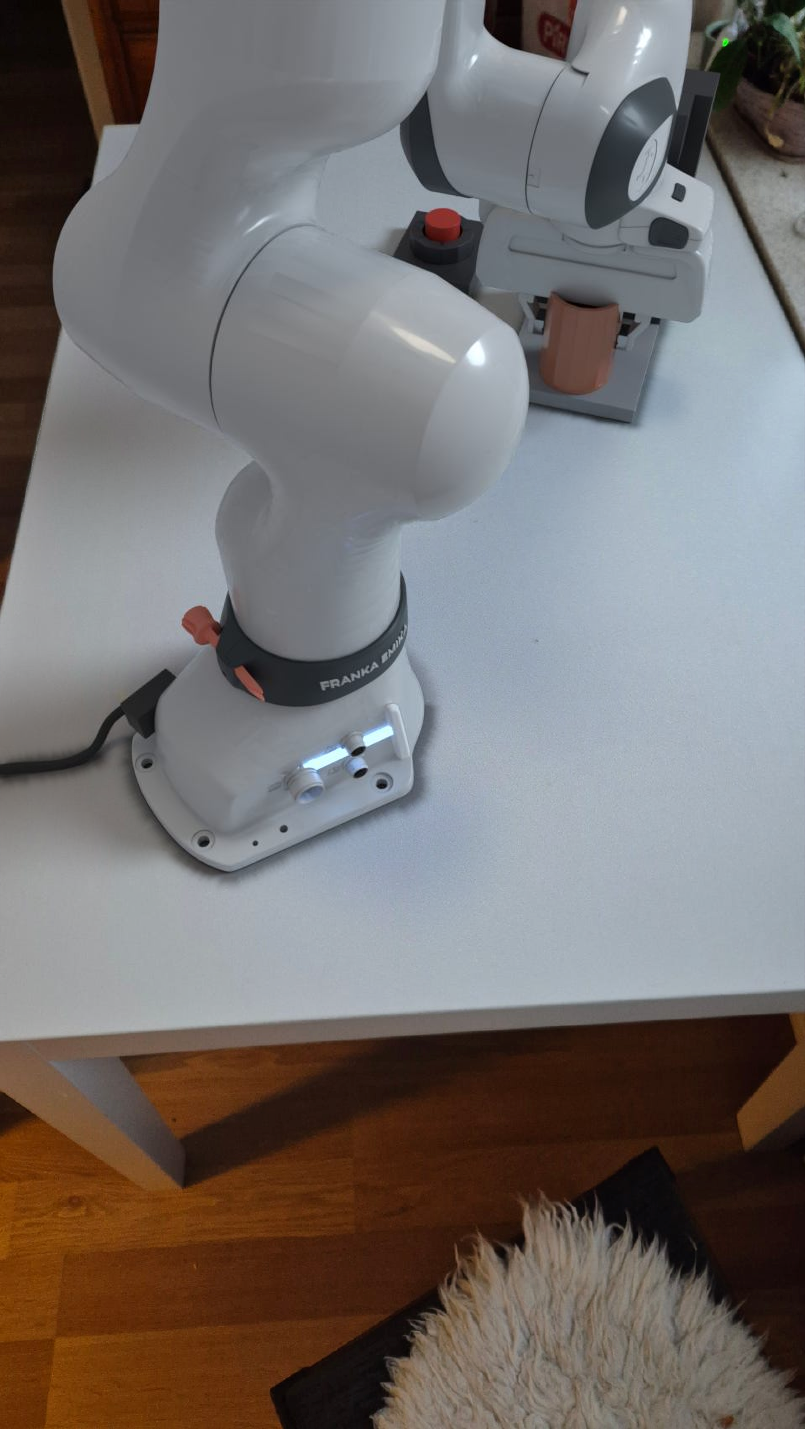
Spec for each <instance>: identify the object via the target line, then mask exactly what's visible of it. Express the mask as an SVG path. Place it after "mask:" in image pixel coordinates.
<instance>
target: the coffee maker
mask: <svg viewBox="0 0 805 1429" xmlns="http://www.w3.org/2000/svg"><path fill="white" fill-rule="evenodd" d="M566 56H567V53H566V54H565V56H564V58H563V60H562V61H565V62H566ZM720 77H721V72H715V71H708V70H700V69H693V68H687V67H686V70H685V76H684V82H683V87H682V92H681V97H680V102H679V106H678V110H677V116H676V121H675V126H674V131H673V135H672V140H671V145H670V149H669V153H668V157H667V163H668V164H669V165H671V166H673V167H674V168H676V169H678V170H680V171H681V172H683V173H685V174H687V175H689V176H691V177H693V178H695V179H697V173H698V169H699V165H700V161H701V157H702V152H703V148H704V144H705V140H706V136H707V133H708V132H707V131H708V127H709V123H710V119H711V115H712V111H713V106H714V103H715V99H716V94H717V90H718V86H719V81H720ZM536 299H537V301H538V304H539V306H540V308H543V309H547V301H548V298H547V297H541V296H536ZM635 315H636V314H634V313H629V312H624V313H623V318H622V323H623V324H630V325H631V323H632V322H633V321H634V320H635ZM528 321H529V318H527V316H526V315H525V317H524V319H523V322H522V325H521V327H520V329H519V333H518V334H517V335H518V337H519V340H520V343H521V346H522V348H523V351H524V355H525V360H526V364H527V369H528V379H529V403H532V404H538V405H542V406H546V407H553V408H557V409H561V410H567V411H572V412H577V413H580V414H581V413H582V414H587V415H591V416H596V417H601V418H607V419H611V420H616V421H621V422H625V423H630V424H631V423H633V421H634V417H635V415H636V410H637V407H638V403H639V401H640V400H639V399H640V396H641V393H642V389H643V386H644V382H645V379H646V376H647V371H648V368H649V366H650V361H651V358H652V354H653V351H654V347H655V343H656V340H657V336H658V334H659V329H660V326H661V322H662V319H661V318H656V317H652V318H651V321H650V325H649V326H648V327H647V328H646V329H645V330H644V331H643V332H641V333H640V334H639V335H638V336H637V337H636V338H635V340H634V344H633V347H632V351H631V352H627V351H622V350H618V349H616V352H615V357H614V362H613V367H612V372H611V375H610V378H609V380H608V382H607V383H606V384H605V385H604V386H603V387H602V388H600V389H599V390H597V391H594V392H592V393H587V394H568V393H563V392H560V391H558V390H555V389H553V388H552V387H550V386H549V385H547V384H546V383H545V382H544V380H543V379H542V377H541V375H540V372H539V365H540V356H541V348H542V340H543V335H537V334H532V333H528V332H527V331H528ZM622 323H621V325H622ZM620 328H621V327H620Z"/></svg>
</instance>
